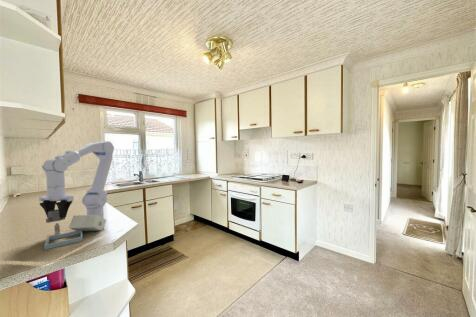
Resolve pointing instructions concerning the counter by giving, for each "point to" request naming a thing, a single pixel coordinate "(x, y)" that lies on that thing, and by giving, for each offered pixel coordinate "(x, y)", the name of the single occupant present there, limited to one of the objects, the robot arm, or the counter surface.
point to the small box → (87, 223)
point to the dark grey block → (53, 216)
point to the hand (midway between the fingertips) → (56, 217)
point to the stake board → (58, 231)
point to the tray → (64, 240)
